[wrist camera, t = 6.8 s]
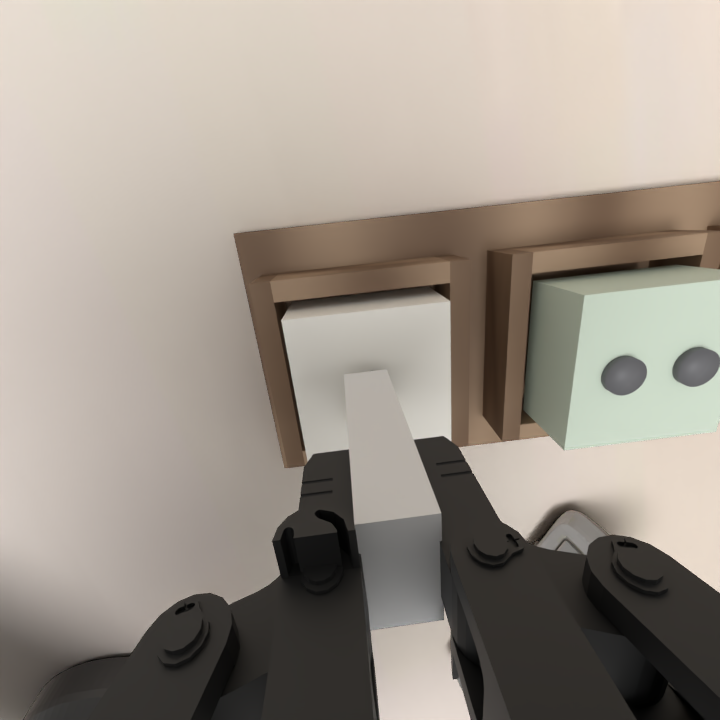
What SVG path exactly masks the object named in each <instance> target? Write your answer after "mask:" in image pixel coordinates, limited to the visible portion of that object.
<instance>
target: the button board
mask: <svg viewBox="0 0 720 720" xmlns="http://www.w3.org/2000/svg"><path fill="white" fill-rule="evenodd" d="M234 238H235V243H236V247H237V252H238V256H239V261H240V266H241V270H242V275H243V279H244V284H245V289H246V293H247V298H248V302H249V307H250V312H251V316H252V321H253V325H254V330H255V334H256V339H257V344H258V348H259V353H260V357H261V362H262V367H263V371H264V376H265V380H266V385H267V390H268V394H269V399H270V403H271V408H272V413H273V417H274V422H275V426H276V431H277V436H278V440H279V445H280V449H281V454H282V458H283V463H284V468H291V467H299V466H305V465H306V464H307V462H308V461H307V456H306V450H305V445H304V440H303V434H302V429H301V424H300V418H299V413H298V408H297V402H296V397H295V392H294V386H293V381H292V376H291V370H290V365H289V360H288V354H287V349H286V344H285V338H284V333H283V328H282V322H281V320H282V318H283V316H284V315H285V313H286V311H287V310H288V308H289V306H290V304H291V303H292V302H295V301H304V300H313V299H322V298H331V297H340V296H349V295H358V294H366V293H375V292H384V291H393V290H402V289H411V288H420V287H430V288H431V289H433V290H434V291H436V292H437V293H439V294H440V295H442V296H443V297H445V298H446V299H448V300H449V301H450V322H451V442H453V443H454V444H455V445H457V446H458V447H463V446H471V445H479V444H488V443H496V442H504V441H512V440H520V439H529V438H537V437H545V436H549V435H548V434H547V433H546V432H545V431H544V430H543V429H542V428H541V427H540V426H539V425H538V424H537V423H536V422H535V421H534V420H533V419H532V418H531V417H530V416H529V415H528V414H527V413H526V412H525V411H524V410H523V405H524V392H525V379H526V366H527V353H528V340H529V327H530V314H531V301H532V288H533V281H535V280H544V279H553V278H561V277H570V276H579V275H588V274H597V273H606V272H615V271H624V270H633V269H641V268H650V267H659V266H668V265H685V266H694V267H702V268H711V269H719V270H720V181H717V182H708V183H699V184H689V185H680V186H671V187H662V188H652V189H643V190H634V191H624V192H615V193H606V194H597V195H587V196H578V197H569V198H560V199H550V200H541V201H532V202H522V203H513V204H504V205H495V206H485V207H476V208H467V209H458V210H448V211H439V212H430V213H421V214H411V215H402V216H393V217H383V218H374V219H365V220H356V221H346V222H337V223H328V224H319V225H309V226H300V227H291V228H281V229H272V230H263V231H254V232H244V233H235V234H234Z"/></svg>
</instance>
